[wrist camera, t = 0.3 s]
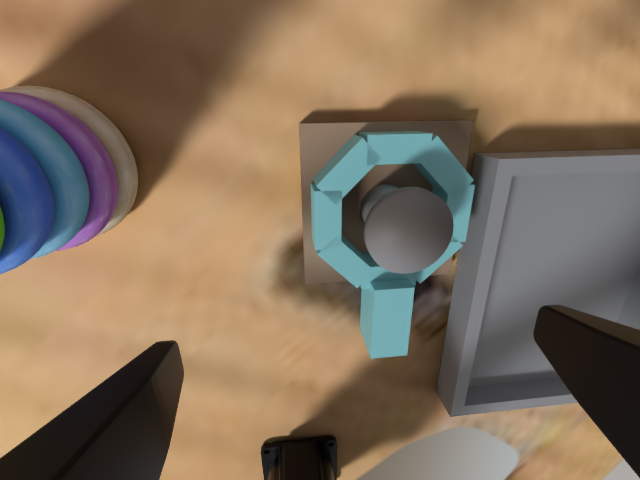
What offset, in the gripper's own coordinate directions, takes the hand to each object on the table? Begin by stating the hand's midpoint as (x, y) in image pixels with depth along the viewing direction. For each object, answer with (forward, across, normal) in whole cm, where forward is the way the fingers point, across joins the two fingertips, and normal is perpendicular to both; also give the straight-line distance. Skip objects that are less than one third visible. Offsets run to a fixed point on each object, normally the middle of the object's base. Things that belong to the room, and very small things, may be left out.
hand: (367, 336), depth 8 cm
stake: (+14, -4, 0) cm, 14 cm away
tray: (+14, -18, +8) cm, 24 cm away
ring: (+13, -4, +3) cm, 14 cm away
